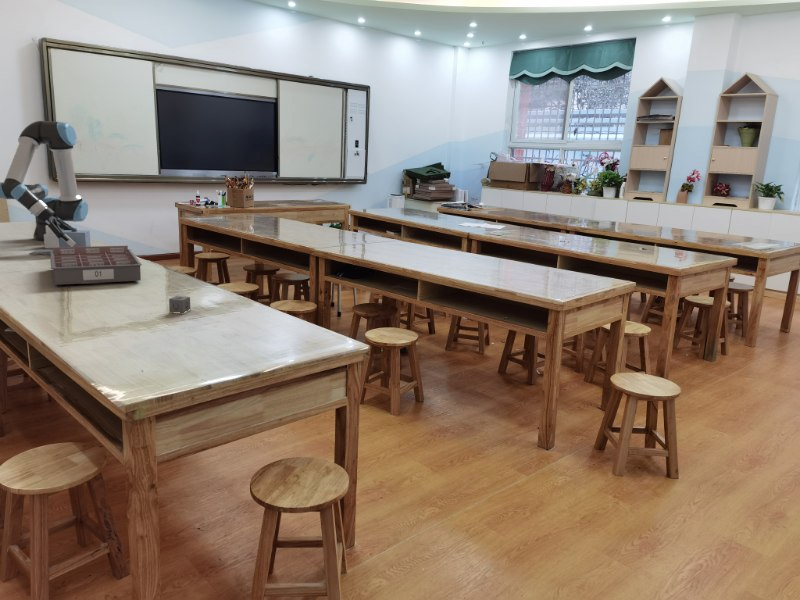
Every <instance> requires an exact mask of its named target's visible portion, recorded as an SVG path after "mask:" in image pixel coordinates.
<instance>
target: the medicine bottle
mask: <svg viewBox="0 0 800 600" xmlns="http://www.w3.org/2000/svg"><path fill="white" fill-rule="evenodd" d="M45 228H46V234H44V241H43V247H44V249H53V247H59V238H57V236H56V235H55V234H54V233H53V231H52V230H51V229H50V228H49V227H48V226H47V225H46V226H45Z"/></svg>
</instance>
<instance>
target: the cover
mask: <svg viewBox="0 0 800 600" xmlns="http://www.w3.org/2000/svg"><path fill="white" fill-rule="evenodd" d="M77 229H78V228H77V227H73V228H71V230H63V229H62V232H63V233H64V234H66V235H67V236H68V237H70V238H71V239H72V240H73V241H74V242H75V243H76V244H75V245H74V246H73V247H92V245H91V233H90V230H77ZM59 247H71V246H70V245H68V244H67V243H66V242H65V241H64V240H63V239H62V238H61V237H60V238H59Z"/></svg>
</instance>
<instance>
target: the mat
mask: <svg viewBox="0 0 800 600" xmlns="http://www.w3.org/2000/svg"><path fill="white" fill-rule="evenodd" d="M51 251H53V249H35V250H34V251H30V252H29V253H28V255H29V254H48V255H47V256H50V252H51Z"/></svg>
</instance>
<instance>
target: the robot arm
mask: <svg viewBox="0 0 800 600" xmlns="http://www.w3.org/2000/svg"><path fill="white" fill-rule="evenodd" d="M77 139H78V138H77V133H76V130H75V128H74V127H73V126H72V125H71V124H70V123H69V122H64V121H63V122H62V121H46V120H37V121H33V122H31V123H30V124H28V125H27V126H26V127H24V129H23V130H22V131H21V133H20V134H19V137H18V139H17V140H18V144H17V148H16V150H15V154H14V156H13V159H12V161H11V164H10V166H9V169H8V172H7V174H6V176H5V178H4V181H3V183H2V182H0V199H3V200H4V199H5V200H15V201H17V202H19V204H21V205H22V206H23V207H24V208H26V210H28V211H29V212H30V214H31V215H33V216H35V218H34V219H35V229H34V232H33V235H32V236H33V240H35V241H43V242H44V234H46V228H45V226H46V225H47V226H48V227H49V228H50V229H51V230H52V231H53V233H54V234H55V235H56V236H57V238H60V237H61V238H62V239H63V240H64V241H65V242H66V243H67V244H68V245H70V246H71V247H73V246H74V245H75V244H76V243H75V242H74V241H73V240H72V239H71V238H70V237H68V236H67V235H66V234H64V233H63V232H62V230H71V228H74V227H73V226H72V225H70V224H69V223H67V222H74V223H77V222H83V221H85V220H86V218H87V217H88V212H89V207H88V206H89V205H88V202H87V201H85V200H83V197H82V195H80V194H79V192H78V191H79V190H78V186H77V179H76V173H75V167H74V161H73V156H72V150H73V149H74V146H75V145H76V144H77ZM41 145H48V146H47V147H48V149H49V150H50V151H51V152H52V154H53V159H54V166H55V170H56V171H55V172H56V175H57V182H58V187H59V194H60V195H59V197H58V196H52V197H49V196H48V195H49V188H48V187H47V185H45V184H43V183H35V184H24V182H25V181H24V180H25V177H26V175H27V173H28V171H29V167H30V165H31V163H32V160H33V158H34V154H35V152H36V150H38V149H39V147H40V146H41ZM47 196H48V197H47Z"/></svg>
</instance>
